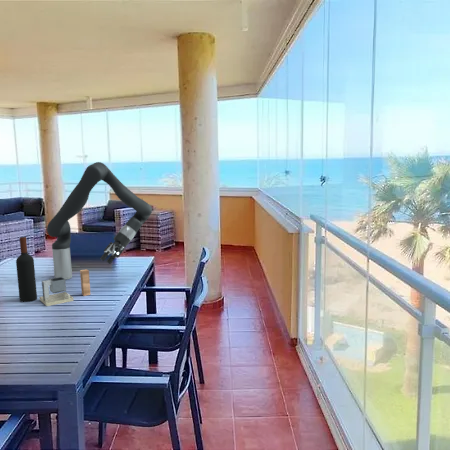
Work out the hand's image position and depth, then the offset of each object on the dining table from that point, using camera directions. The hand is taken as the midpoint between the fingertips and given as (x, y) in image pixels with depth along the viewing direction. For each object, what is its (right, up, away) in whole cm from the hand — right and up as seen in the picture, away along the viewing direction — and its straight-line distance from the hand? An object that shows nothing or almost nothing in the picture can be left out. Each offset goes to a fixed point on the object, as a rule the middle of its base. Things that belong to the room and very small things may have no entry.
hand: (104, 261), depth 213 cm
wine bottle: (-33, -18, -10) cm, 39 cm away
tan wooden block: (-8, -16, -4) cm, 18 cm away
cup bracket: (-18, -17, -12) cm, 28 cm away
